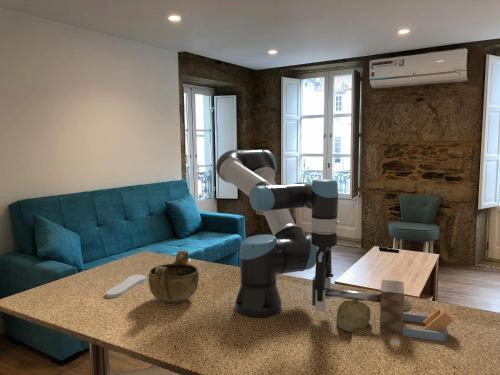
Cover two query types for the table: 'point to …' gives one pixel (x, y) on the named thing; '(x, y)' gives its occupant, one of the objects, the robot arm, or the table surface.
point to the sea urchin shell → (405, 304)
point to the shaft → (347, 294)
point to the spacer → (438, 320)
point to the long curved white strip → (125, 286)
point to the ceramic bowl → (174, 280)
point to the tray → (422, 333)
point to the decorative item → (353, 315)
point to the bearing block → (392, 307)
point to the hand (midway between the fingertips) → (323, 304)
